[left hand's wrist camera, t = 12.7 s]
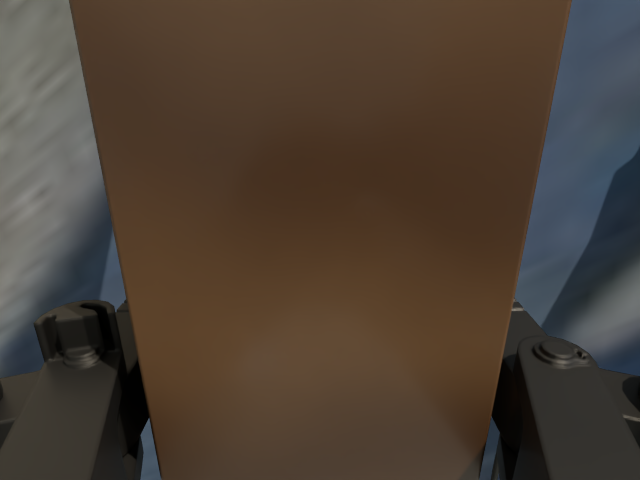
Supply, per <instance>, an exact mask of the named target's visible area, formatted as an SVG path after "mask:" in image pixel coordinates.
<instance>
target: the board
mask: <svg viewBox="0 0 640 480" xmlns="http://www.w3.org/2000/svg"><path fill="white" fill-rule="evenodd" d="M571 2H572V0H69V3H70V8H71V13H72V18H73V24H74V29H75V34H76V39H77V44H78V50H79V55H80V60H81V65H82V70H83V76H84V81H85V86H86V91H87V96H88V102H89V107H90V112H91V117H92V122H93V128H94V133H95V138H96V143H97V148H98V153H99V159H100V164H101V169H102V174H103V179H104V185H105V190H106V195H107V200H108V205H109V211H110V216H111V221H112V226H113V231H114V237H115V242H116V247H117V252H118V257H119V263H120V268H121V273H122V278H123V283H124V289H125V294H126V299H127V304H128V309H129V315H130V320H131V325H132V330H133V335H134V341H135V346H136V351H137V356H138V361H139V366H140V372H141V377H142V382H143V387H144V392H145V398H146V403H147V408H148V413H149V418H150V424H151V429H152V434H153V439H154V444H155V450H156V455H157V460H158V465H159V470H160V476H161V480H479V476H480V471H481V466H482V461H483V456H484V451H485V445H486V440H487V435H488V430H489V425H490V420H491V415H492V409H493V404H494V399H495V394H496V389H497V384H498V378H499V373H500V368H501V363H502V358H503V353H504V347H505V342H506V337H507V332H508V327H509V322H510V316H511V311H512V306H513V301H514V296H515V291H516V286H517V280H518V275H519V270H520V265H521V260H522V255H523V249H524V244H525V239H526V234H527V229H528V224H529V218H530V213H531V208H532V203H533V198H534V193H535V187H536V182H537V177H538V172H539V167H540V162H541V156H542V151H543V146H544V141H545V136H546V131H547V126H548V120H549V115H550V110H551V105H552V100H553V95H554V89H555V84H556V79H557V74H558V69H559V64H560V58H561V53H562V48H563V43H564V38H565V33H566V27H567V22H568V17H569V12H570V7H571Z"/></svg>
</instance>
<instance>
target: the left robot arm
mask: <svg viewBox="0 0 640 480" xmlns="http://www.w3.org/2000/svg"><path fill="white" fill-rule="evenodd" d="M34 327H35V330H36V334H37V337H38V341H39V344H40V348H41V351H42V355H43V358H44V361H45V362H44V364H43V366H42V368H41V370H39V371H35V372H31V373H25V374H20V375H15V376H10V377H5V378H0V480H140V477H141V469H142V461H143V446H142V441H141V436H140V435H141V433H142V431H143V429H144V427H145V425H146V423H147V421H148V419H149V413H148V408H147V403H146V398H145V392H144V387H143V382H142V377H141V372H140V366H139V361H138V356H137V351H136V346H135V341H134V335H133V330H132V325H131V320H130V315H129V309H128V304H127V299H126V300H125V301H124V303H122V305H121V306H120V307H119V308H118V309H117V312H115V308H114V306H113V305H112V304H110V303H109V302H106V301H101V300H83V301H78V302H73V303H68V304H65V305H63V306H60V307H57V308H54V309H52V310H50V311H49V312H47V313H45V314H43V315H42V316H40V317H39V318H38V319H37V320H36V321H35V322H34ZM491 416H492V418H493V420H494V422H495V424H496V426H497V428H498V430H499V432H500V436H499V441H498V445H497V450H496V455H495V460H494V465H493V470H492V476H491V480H497V478H498V473H499V476H500V480H640V376H635V375H630V374H625V373H620V372H614V371H609V370H605V369H601V368H598V366H597V364H596V362H595V360H594V359H593V358H592V357H591V356H590V354H589V353H588V352H586V351H585V350H583V349H582V348H580V347H579V346H577V345H575V344H573V343H570V342H568V341H566V340H563V339H559V338H555V337H551V336H547V335H546V333H545V332H544V331H543V330H542V329H541V328H540V326H539V325H538V324H537V323H536V322H535V321H534V320H533V318H532V317H531V316H530V315H529V314H528V313H527V312H526V311H524V308H523V307H522V306H521V305H520V303H519V302H516V299H515V298H514V301H513V306H512V311H511V316H510V322H509V327H508V332H507V337H506V342H505V347H504V353H503V358H502V363H501V368H500V373H499V378H498V384H497V389H496V394H495V399H494V404H493V409H492V415H491Z"/></svg>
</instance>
